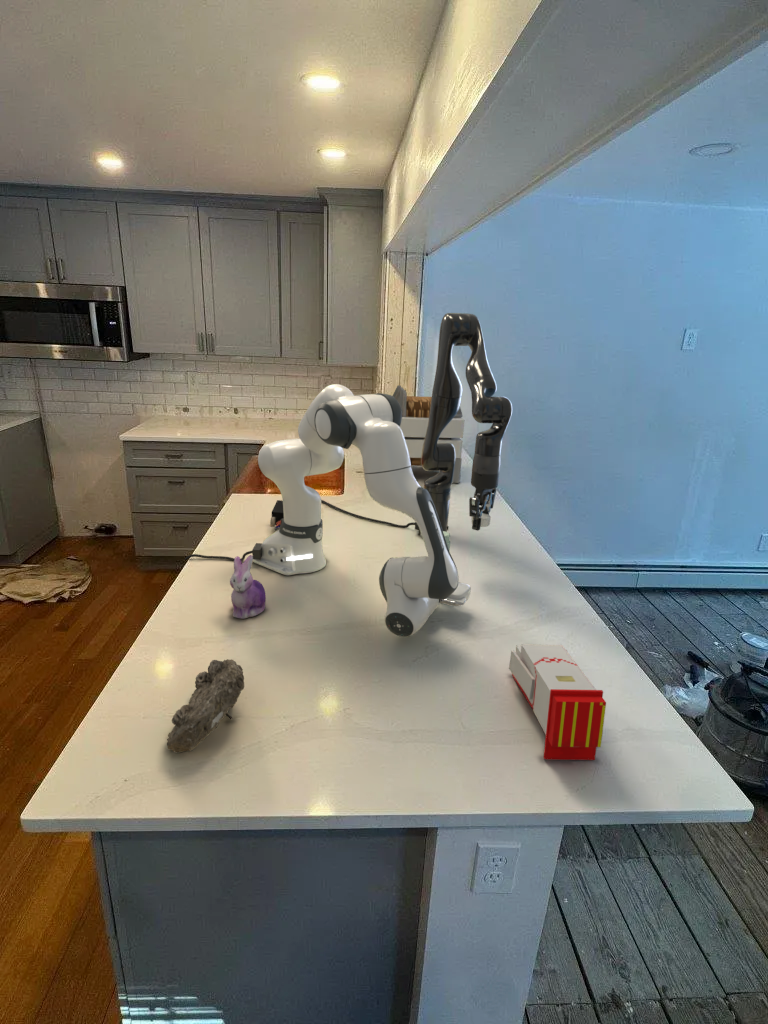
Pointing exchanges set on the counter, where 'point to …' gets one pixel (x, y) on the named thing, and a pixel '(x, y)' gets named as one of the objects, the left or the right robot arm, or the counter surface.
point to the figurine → (246, 590)
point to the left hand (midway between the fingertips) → (440, 575)
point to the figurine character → (277, 514)
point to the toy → (560, 700)
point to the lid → (484, 520)
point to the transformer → (416, 427)
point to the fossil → (206, 705)
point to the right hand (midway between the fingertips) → (479, 526)
